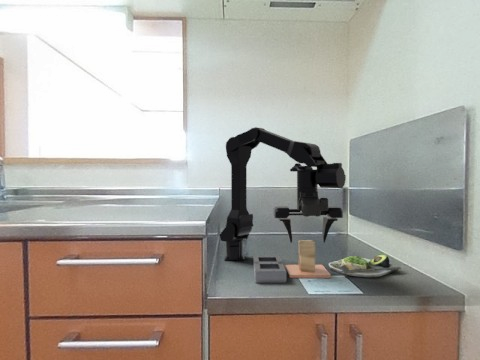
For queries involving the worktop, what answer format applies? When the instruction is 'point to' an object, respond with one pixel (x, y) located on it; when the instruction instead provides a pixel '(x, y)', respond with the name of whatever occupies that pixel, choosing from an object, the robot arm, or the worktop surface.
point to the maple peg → (306, 255)
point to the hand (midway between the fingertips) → (307, 242)
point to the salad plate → (364, 266)
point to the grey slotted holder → (269, 269)
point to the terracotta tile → (307, 272)
